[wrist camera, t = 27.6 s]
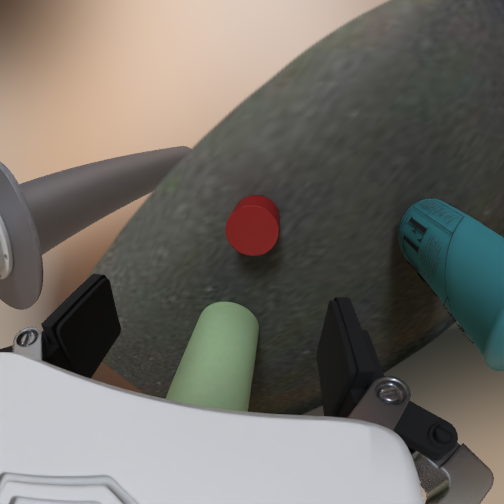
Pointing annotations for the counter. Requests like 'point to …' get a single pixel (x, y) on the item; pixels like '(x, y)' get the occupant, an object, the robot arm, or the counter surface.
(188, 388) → the sauce bottle
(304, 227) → the counter surface
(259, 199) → the cap
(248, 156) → the counter surface
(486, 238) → the beverage bottle
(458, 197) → the counter surface
